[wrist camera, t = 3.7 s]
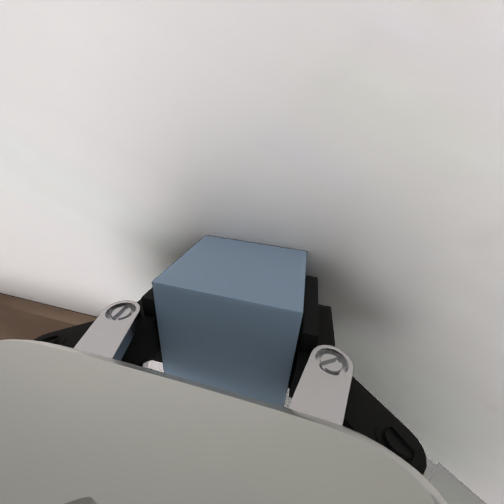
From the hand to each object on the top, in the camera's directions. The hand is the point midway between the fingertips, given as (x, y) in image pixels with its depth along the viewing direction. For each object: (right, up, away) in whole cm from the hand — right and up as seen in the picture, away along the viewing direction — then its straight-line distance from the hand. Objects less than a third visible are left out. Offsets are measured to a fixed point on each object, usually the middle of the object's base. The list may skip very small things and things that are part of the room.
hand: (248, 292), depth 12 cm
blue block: (0, 0, +1) cm, 1 cm away
